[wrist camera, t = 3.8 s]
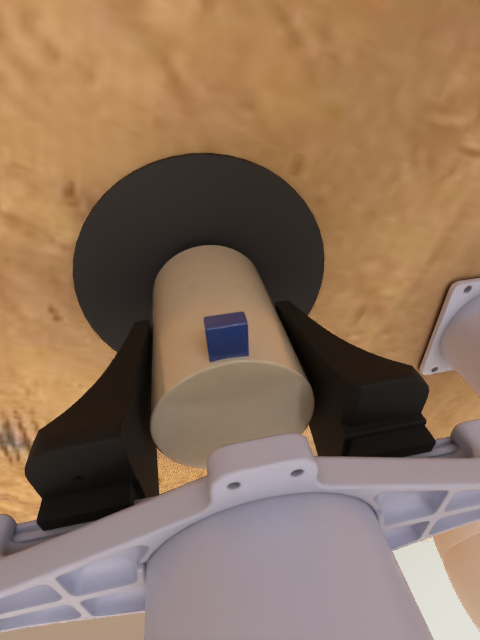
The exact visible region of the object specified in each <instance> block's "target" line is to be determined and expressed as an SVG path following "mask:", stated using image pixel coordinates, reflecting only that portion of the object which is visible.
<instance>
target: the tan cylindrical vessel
mask: <svg viewBox="0 0 480 640" xmlns="http://www.w3.org/2000/svg"><path fill="white" fill-rule="evenodd" d="M314 408H315V397H314V392H313V390H312V387H311V385H310V383H309V381H308V378H307V376H306V374H305V372H304V370H303V368H302V365H301V363H300V361H299V359H298V357H297V355H296V352H295V350H294V348H293V346H292V344H291V342H290V339H289V337H288V335H287V333H286V331H285V329H284V326H283V324H282V322H281V320H280V318H279V316H278V313H277V311H276V309H275V307H274V305H273V303H272V300H271V298H270V296H269V294H268V292H267V290H266V287H265V285H264V283H263V281H262V279H261V277H260V274H259V272H258V270H257V269H256V267H255V265H254V264H253V263H252V262H251V261H250V260H249V259H248V258H247V257H246V256H244V255H243V254H241V253H240V252H238V251H236V250H234V249H231V248H228V247H224V246H219V245H203V246H197V247H193V248H190V249H187V250H185V251H183V252H180V253H179V254H177V255H176V256H174V257H173V258H171V259H170V260H169V261H168V262H167V263H166V264H165V265H164V266H163V267H162V269H161V270H160V271H159V273H158V275H157V277H156V279H155V282H154V285H153V291H152V334H151V378H150V423H149V429H150V434H151V437H152V440H153V442H154V444H155V445H156V447H157V448H158V449H159V450H160V451H161V452H162V453H163V454H164V455H165V456H167V457H168V458H169V459H171V460H173V461H175V462H177V463H180V464H182V465H185V466H189V467H193V468H199V469H207V460H208V456H209V455H210V454H211V453H212V452H214V451H215V450H216V449H217V448H218V447H221V446H224V445H227V444H230V443H235V442H240V441H246V440H251V439H256V438H262V437H267V436H272V435H277V434H283V433H298V434H302V433H303V432H304V430H305V429H306V428H307V426H308V424H309V423H310V421H311V418H312V416H313V412H314Z"/></svg>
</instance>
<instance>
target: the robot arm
mask: <svg viewBox="0 0 480 640" xmlns="http://www.w3.org/2000/svg"><path fill="white" fill-rule="evenodd" d="M275 309H276V311H277V313H278V316H279V318H280V320H281V322H282V324H283V326H284V329H285V331H286V333H287V335H288V337H289V339H290V342H291V344H292V346H293V348H294V350H295V352H296V355H297V357H298V359H299V361H300V363H301V365H302V368H303V370H304V372H305V374H306V376H307V378H308V381H309V383H310V385H311V387H312V390H313V392H314V397H315V408H314V412H313V416H312V418H311V421H310V423H309V427H310V430H311V433H312V436H313V440H314V443H315V447H316V450H317V453H318V456H314V455H313V453H312V450H311V447H310V445H309V442H308V440H307V437H305V436H303V435H301V434H298V433H283V434H277V435H272V436H267V437H262V438H256V439H251V440H246V441H240V442H235V443H230V444H227V445H224V446H221V447H218V448H217V449H216V450H215V451H214V452H212V453H211V454H210V455H209V456H208V460H207V473H208V475H207V476H204V477H202V478H199V479H197V480H194V481H192V482H190V483H187V484H185V485H182V486H180V487H177V488H175V489H172V490H170V491H167V492H165V493H163V494H160V495H159V482H158V465H157V447H156V445H155V444H154V442H153V440H152V437H151V434H150V429H149V423H150V378H151V334H152V329H151V325H150V321H149V320H145V321H138V322H135V323H134V324H133V326H132V328H131V330H130V332H129V334H128V336H127V337H126V339H125V341H124V343H123V345H122V346H121V348H120V350H119V351H118V353H117V355H116V356H115V358H114V359H113V360H112V362H111V363H110V365H109V366H108V368H107V369H106V370H105V372H104V373H103V374H102V376H101V377H100V378H99V379H98V380H97V382H96V383H95V384H94V385H93V386H92V387H91V388H90V389H89V390H88V391H87V392H86V393H85V394H84V395H83V396H82V397H81V398H80V399H79V400H78V401H77V402H76V403H75V404H73V405H72V406H71V407H70V408H69V409H67V410H66V411H65V412H64V413H63V414H61V415H60V416H59V417H57V418H56V419H55V420H53V421H52V422H50V423H49V424H48V425H46V426H45V427H43V428H42V429H40V430H39V431H38V434H37V436H36V438H35V440H34V442H33V445H32V447H31V450H30V453H29V456H28V460H27V463H26V466H25V476H26V478H27V480H28V481H29V482H30V484H31V485H32V486H33V487H34V489H35V490H36V491H37V493H38V494H39V495H40V496H41V498H42V502H41V506H40V510H39V513H38V517H37V520H34V521H29V522H24V523H19V524H17V523H16V522H15V520H14V519H13V518H12V517H11V516H9V515H7V514H0V633H1V632H6V631H12V630H17V629H23V628H28V627H34V626H41V625H49V624H55V623H63V622H71V621H79V620H87V619H95V618H103V617H111V616H119V615H127V614H135V613H143V612H145V633H144V640H434V639H433V637H432V635H431V633H430V631H429V629H428V626H427V624H426V622H425V620H424V618H423V616H422V614H421V612H420V610H419V607H418V605H417V603H416V601H415V599H414V597H413V595H412V592H411V591H410V588H409V586H408V584H407V582H406V580H405V578H404V576H403V573H402V571H401V569H400V567H399V565H398V563H397V561H396V559H395V556H394V554H393V552H392V551H394V550H397V549H399V548H402V547H405V546H408V545H410V544H413V543H416V542H419V541H421V540H424V539H427V538H430V537H432V536H435V535H438V534H441V533H443V532H446V531H449V530H452V529H455V528H458V527H461V526H463V525H466V524H470V523H473V522H476V521H480V419H477V420H472V421H466V422H462V423H459V424H458V425H456V426H455V427H454V428H453V430H452V432H451V436H450V437H446V438H441V439H436V440H435V439H434V438H433V436H432V435H431V434H430V432H429V431H428V429H427V428H426V427H425V424H426V419H425V418H424V417H423V415H422V414H421V412H422V410H423V407H424V405H425V403H426V400H427V398H428V394H429V386H428V384H427V383H426V382H425V381H424V379H423V378H422V377H421V375H420V374H419V373H418V372H417V371H416V370H415V369H414V368H413V366H411V365H407V364H403V363H400V362H396V361H392V360H389V359H386V358H383V357H380V356H377V355H375V354H372V353H369V352H367V351H365V350H363V349H360V348H358V347H356V346H354V345H352V344H350V343H348V342H346V341H344V340H342V339H341V338H339V337H337V336H335V335H334V334H332V333H331V332H329V331H328V330H326V329H325V328H323V327H322V326H320V325H319V324H317V323H316V322H315V321H313V320H312V319H311V318H310V317H308V316H307V315H306V314H305V313H303V312H302V311H301V310H300V309H299V308H297V307H296V306H295V305H294V304H293V303H291V302H290V301H289V300H286V301H279V302H275ZM452 370H455V371H456V372H457V373H458V374H459V375H460V377H461V378H462V379H463V380H464V381H465V382H466V383H467V384H468V385H469V386H470V387H471V388H472V389H473V390H474V391H475V392H476V393H477V395H478V396H479V397H480V278H475V279H468V280H461V281H457V282H455V283H453V284H452V285H451V286H450V288H449V291H448V293H447V296H446V299H445V301H444V304H443V307H442V310H441V312H440V315H439V318H438V320H437V323H436V326H435V328H434V331H433V334H432V336H431V339H430V342H429V344H428V347H427V350H426V352H425V355H424V358H423V360H422V363H421V366H420V368H419V371H420V372H421V373H422V374H423V375H429V374H435V373H441V372H446V371H452Z"/></svg>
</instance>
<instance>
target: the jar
mask: <svg viewBox="0 0 480 640" xmlns="http://www.w3.org/2000/svg"><path fill="white" fill-rule="evenodd" d="M433 538H434V542H435V545H436V547H437V550H438V552H439V554H440V557H441V559H442V561H443V563H444V566H445V569H446V572H447V574H448V577H449V579H450V581H451V583H452V586H453V588H454V590H455V592H456V594H457V596H458V598H459V599H460V601H461V603H462V605H463V606H464V608H465V610H466V611H467V613H468V615H469V616H470V618H471V619H472V621H473V622H474V624H475V625H476V627H477V628H478V630H479V631H480V521H476V522H473V523H470V524H466V525H463V526H461V527H458V528H455V529H452V530H449V531H446V532H443V533H441V534H438V535H435V536H433Z"/></svg>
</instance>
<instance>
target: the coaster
mask: <svg viewBox="0 0 480 640" xmlns="http://www.w3.org/2000/svg"><path fill="white" fill-rule="evenodd" d="M203 245H219V246H224V247H228V248H231V249H234V250H236V251H238V252H240V253H241V254H243V255H244V256H246V257H247V258H248V259H249V260H250V261H251V262H252V263H253V264H254V265H255V267H256V269H257V270H258V272H259V274H260V277H261V279H262V281H263V283H264V285H265V287H266V290H267V292H268V294H269V296H270V298H271V300H272V303H273V305H274V307H275V302H279V301H286V300H289V301H290V302H291V303H293V304H294V305H295V306H296V307H297V308H299V309H300V310H301V311H302V312H303V313H305V314H306V315H307V316H308V314H309V312H310V311H311V309H312V307H313V305H314V303H315V301H316V299H317V296H318V293H319V290H320V287H321V283H322V278H323V272H324V250H323V242H322V238H321V234H320V230H319V228H318V225H317V223H316V221H315V218H314V216H313V214H312V213H311V211H310V209H309V208H308V206H307V204H306V203H305V202H304V200H303V199H302V198H301V197H300V196H299V195H298V193H297V192H296V191H295V190H294V189H293V188H292V187H291V186H290V185H288V184H287V183H286V182H285V181H284V180H283V179H281V178H280V177H279V176H277V175H276V174H274V173H272V172H271V171H269V170H268V169H266V168H264V167H262V166H259V165H257V164H255V163H252V162H250V161H247V160H244V159H240V158H237V157H233V156H228V155H220V154H212V153H202V154H186V155H180V156H173V157H169V158H166V159H162V160H159V161H156V162H153V163H150V164H148V165H146V166H144V167H142V168H140V169H138V170H136V171H134V172H132V173H131V174H129V175H128V176H126V177H125V178H123V179H122V180H120V181H119V182H117V183H116V184H115V185H114V186H113V187H112V188H111V189H110V190H109V191H107V192H106V193H105V194H104V195H103V196H102V198H101V199H100V200H99V201H98V203H97V204H96V205H95V206H94V208H93V209H92V210H91V212H90V214H89V216H88V217H87V219H86V221H85V223H84V224H83V227H82V229H81V232H80V235H79V237H78V240H77V243H76V248H75V253H74V258H73V279H74V286H75V292H76V295H77V298H78V302H79V305H80V307H81V309H82V311H83V313H84V315H85V317H86V319H87V320H88V322H89V323H90V325H91V326H92V328H93V329H94V331H95V332H96V333H97V334H98V335H99V336H100V337H101V339H102V340H103V341H104V342H106V343H107V344H108V345H109V346H110V347H111V348H112V349H114V350H115V351H117V352H118V351H119V350H120V348H121V346H122V345H123V343H124V341H125V339H126V337H127V336H128V334H129V332H130V330H131V328H132V326H133V324H134V323H135V322H138V321H145V320H149V321H150V325H151V329H152V291H153V285H154V282H155V279H156V277H157V275H158V273H159V271H160V270H161V269H162V267H163V266H164V265H165V264H166V263H167V262H168V261H169V260H170V259H171V258H173V257H174V256H176V255H177V254H179V253H180V252H183V251H185V250H187V249H190V248H193V247H197V246H203Z"/></svg>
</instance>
